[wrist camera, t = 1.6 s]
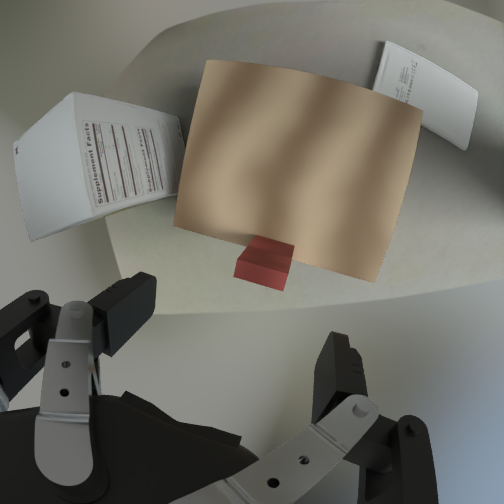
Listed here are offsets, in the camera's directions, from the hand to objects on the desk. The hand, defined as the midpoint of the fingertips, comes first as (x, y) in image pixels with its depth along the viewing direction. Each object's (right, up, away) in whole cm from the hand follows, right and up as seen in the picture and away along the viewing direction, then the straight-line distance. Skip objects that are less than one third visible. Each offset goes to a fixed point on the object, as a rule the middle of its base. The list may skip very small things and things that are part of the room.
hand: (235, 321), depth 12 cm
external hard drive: (+20, +20, +11) cm, 30 cm away
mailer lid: (+4, +10, +9) cm, 14 cm away
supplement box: (-11, +14, +19) cm, 26 cm away
